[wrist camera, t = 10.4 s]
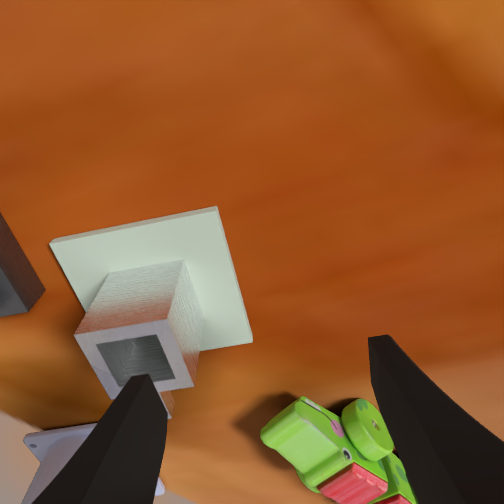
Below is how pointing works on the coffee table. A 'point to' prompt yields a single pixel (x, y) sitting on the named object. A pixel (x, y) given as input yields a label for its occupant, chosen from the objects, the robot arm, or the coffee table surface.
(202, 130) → the coffee table surface
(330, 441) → the toy crocodile
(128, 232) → the set down mat
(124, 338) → the hollow square tube
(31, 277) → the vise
